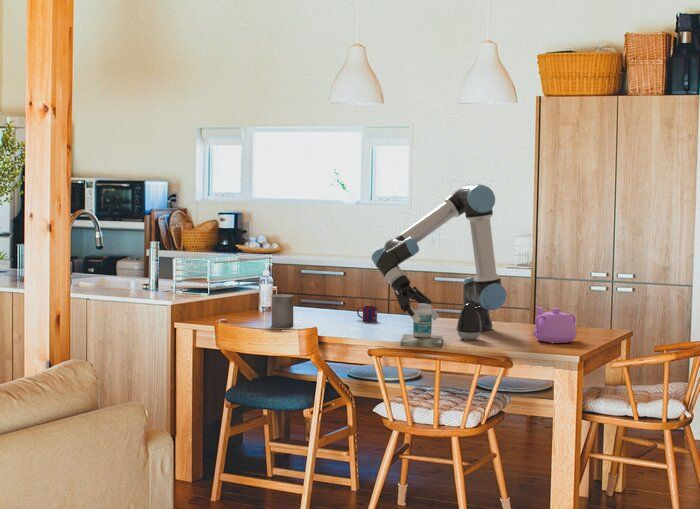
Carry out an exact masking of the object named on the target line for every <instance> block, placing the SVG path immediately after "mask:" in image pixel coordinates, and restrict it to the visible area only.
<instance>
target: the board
mask: <svg viewBox="0 0 700 509" xmlns="http://www.w3.org/2000/svg"><path fill="white" fill-rule="evenodd" d="M399 343H400V344H399V345H400V346H404V347H426V348H429V347H430V348H442V345H443V335H434V334H433V335H432V334H431V337H428V338H419V337H415V336H413V334H411V333H409V334H408V333H406V334H405V333H403V335H402V336H401V339H400V342H399ZM441 344H442V345H441Z"/></svg>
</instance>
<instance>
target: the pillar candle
mask: <svg viewBox="0 0 700 509" xmlns="http://www.w3.org/2000/svg"><path fill="white" fill-rule="evenodd" d="M271 327H273V328H290V327H294V295H293V294H289V293H276V294H271Z"/></svg>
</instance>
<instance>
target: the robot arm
mask: <svg viewBox="0 0 700 509" xmlns="http://www.w3.org/2000/svg"><path fill="white" fill-rule="evenodd" d="M495 196H496V195H495V193H494V191H493V190H492V189H491V188H490V187H488V186H487V185H484V184H478V183H477V184H466V185H462V186H461V187H459V188H458V189H457V190H456V191H454V192H452V193H451V194H450V195H449V196H447V197H446V198H445V199H444V201H443V203H442V204H440V205H439V206H437V207H436V208H435V209H434V210H432V211H430V212H429V213H428V214H426V215H425V216H424V217H422V218H420V220H418V221H416V223H414V224H413V225H411V226H410V227H408V228H407V229H406V230H404V231H403V232H401V233H400V234H399V235H397V236H396V237H395V238H391V239H389V240H388V239H387V241H386V242H385V243H384V247H381V248H378V249H376V250H375V251H374V252H373V253H372V254H371V260H372V262H373V264H374V266H375V267H376V268H377V269H378V271H379V272H380V273H381V274H382V275H383V277H384V278H385V279H386V283H388V284H389V285H390V286H391V288H392V290H393V291H394V292H393V293H394V294H395V297H396V299H397V302H398V305H399V308H400V309H401V310H402V311H403V312H404V313H406V312H407V314H408V315H409V316H410V317H411V319H412V320H413V323H414V322H415V323H416V324H417V323H418V322H419V321H420V320H421V318H420V317H419V316H418V314H417V313H416V312H415V310H416V309H414V308H413V306H411V303H410V300H412V301H413V300H414V301H416V302H417V304H418V303H425V304H429V308H428V309H429V310H431V311H432V321H436V320H437V319H438V318H439V317H440V315H439V314H438V313H437V311H436V310H435V309H434V307H433V306H432V305H431V304H432V303H433V301H432V300H431V299H430V298H429V297H428V296H426V295H425V294H424V293H422V292H421V291H420V290H419V289H418V287H416V286H413V287H412V286H411V285H410V284H411V280H410V279H409V278H408V276H407V275H405V273H404V271H403V270H402V268H400V266H399V265H400V264H401V263H403V262H405V261H407V260H409V259H410V258H411V257H414V256H415V255H416V254H418V253H419V251H420V247H419V245H418V243H420V242H421V241H422V240H424V239H425V238H427V237H428V236H429V235H431V234H432V233H434V232H435V231H436V230H438V229H439V228H441V227H442V226H443V225H444V224H446V223H448V222H449V221H450V220H452V219H453V218H458V217H460V216H461V215H463V214H465V218H466V219H467V220H468V221H469V225H470V233H471V234H470V235H471V242H472V249H473V258H474V259H473V260H474V266H475V273H476V274H475V275H476V276H475V277H465V279H463V284H462V288H463V289H462V293H463V294H462V308H463V307H464V305H465V304H467V303H472V304H474V305H475V306H476V307H478V306H482V308H481V309H479V310H478V312H479V316H480V320H481V328H482V331H481V332H485V331H486V332H487V331H488V332H489V331H492V330H493V321H492V319H491V318H492V317H491V315H490V311H496V310H498V309H500V308H501V307H502V306H504V304H505V303H506V300H507V291H506V289H505V287H504V286H503V285H502V280H501V275H499V274H498V273H497V268H496V267H497V266H496V261H495V260H496V259H495V250H494V242H493V235H492V225H491V224H492V223H491V217H492V216H493V215H494V211H493V209H494V208H493V207H494V206H495V203H496V197H495Z"/></svg>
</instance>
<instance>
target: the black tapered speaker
mask: <svg viewBox="0 0 700 509" xmlns="http://www.w3.org/2000/svg"><path fill="white" fill-rule="evenodd" d="M481 308H482V306H478V307H476V306H475V305H474V304H472V303H467V304H465V305H464V307H463V306H462V308H461V311H460V312H459V316H458V319H457V325H456V332H457V335H458V336H459V338H460V339H462V340H463V339H464V340H463V341H475V340H477V339H478V338H479V337H480V335H481V332H483V331H482V328H481V320H480V316H479V312H478V310H479V309H481Z"/></svg>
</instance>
